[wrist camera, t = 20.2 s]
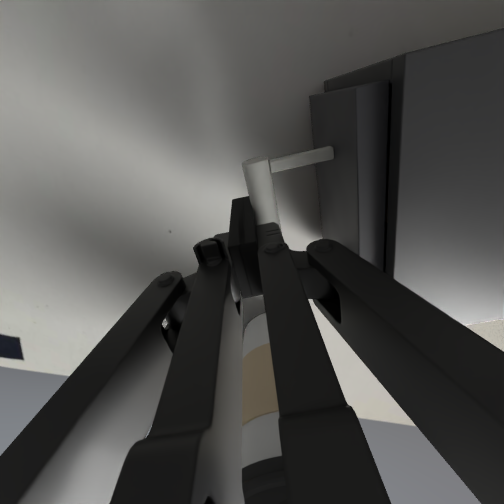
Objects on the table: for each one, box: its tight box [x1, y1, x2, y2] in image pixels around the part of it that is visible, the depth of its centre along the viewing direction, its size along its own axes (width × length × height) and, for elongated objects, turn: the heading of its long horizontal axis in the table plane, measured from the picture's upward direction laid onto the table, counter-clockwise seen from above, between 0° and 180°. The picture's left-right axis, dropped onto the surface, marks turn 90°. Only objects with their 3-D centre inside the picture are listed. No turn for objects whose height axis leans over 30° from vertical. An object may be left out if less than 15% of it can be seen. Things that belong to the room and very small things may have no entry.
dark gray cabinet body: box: [324, 28, 504, 326], centre depth 15 cm, size 15×13×10 cm
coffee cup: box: [242, 313, 287, 504], centre depth 21 cm, size 9×9×15 cm
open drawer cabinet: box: [242, 79, 392, 273], centre depth 15 cm, size 18×11×8 cm, turn 102°
